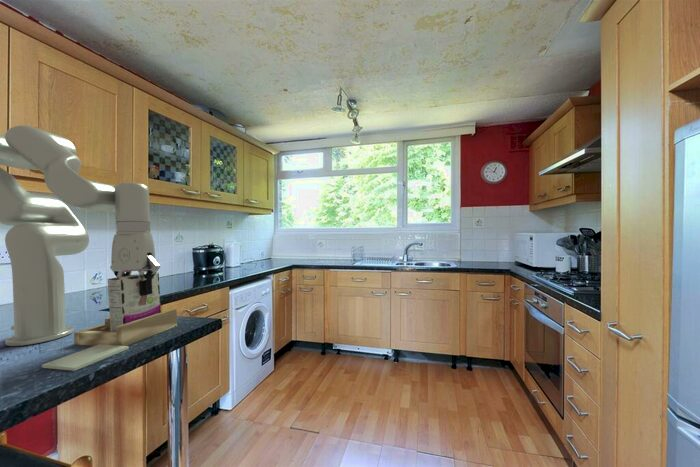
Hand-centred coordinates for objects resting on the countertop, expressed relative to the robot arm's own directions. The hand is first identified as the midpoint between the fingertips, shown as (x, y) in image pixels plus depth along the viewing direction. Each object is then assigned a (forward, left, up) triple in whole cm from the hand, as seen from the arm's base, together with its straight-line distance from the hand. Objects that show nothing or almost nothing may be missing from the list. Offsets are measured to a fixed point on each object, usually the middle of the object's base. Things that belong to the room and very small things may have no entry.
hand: (135, 294), depth 78 cm
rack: (-3, 0, -11) cm, 11 cm away
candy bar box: (0, 0, -11) cm, 11 cm away
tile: (+3, -14, -11) cm, 18 cm away
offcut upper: (-6, 0, -8) cm, 10 cm away
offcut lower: (-6, 0, -11) cm, 13 cm away
